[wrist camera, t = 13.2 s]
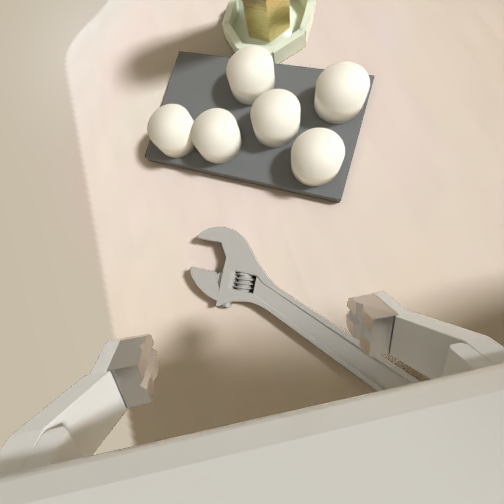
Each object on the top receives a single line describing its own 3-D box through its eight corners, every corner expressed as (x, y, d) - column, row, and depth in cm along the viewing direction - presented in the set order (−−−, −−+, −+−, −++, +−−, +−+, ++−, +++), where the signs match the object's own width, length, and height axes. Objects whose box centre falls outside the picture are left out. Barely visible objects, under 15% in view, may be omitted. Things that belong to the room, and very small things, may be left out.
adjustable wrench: (454, 402, 20) (469, 413, 19) (403, 463, 20) (413, 481, 19) (221, 219, 25) (216, 215, 23) (182, 270, 25) (173, 269, 24)
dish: (321, -8, 26) (322, -25, 24) (298, 69, 25) (298, 56, 24) (241, -13, 28) (238, -30, 26) (218, 59, 27) (214, 46, 25)
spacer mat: (371, 82, 24) (381, 56, 21) (339, 202, 23) (345, 191, 20) (182, 58, 28) (170, 33, 25) (149, 160, 27) (132, 146, 24)
